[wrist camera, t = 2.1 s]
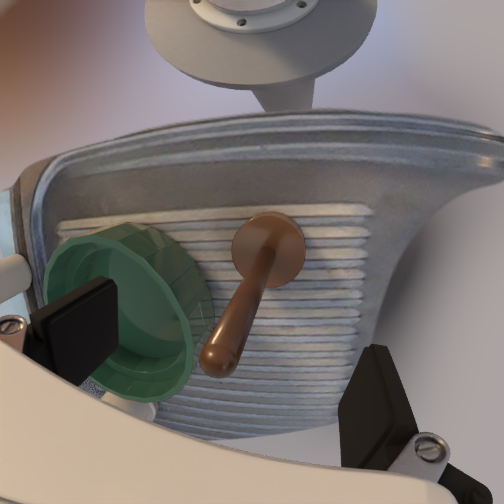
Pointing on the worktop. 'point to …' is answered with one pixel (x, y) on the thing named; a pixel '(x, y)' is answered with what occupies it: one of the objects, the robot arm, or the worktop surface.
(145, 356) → the bowl
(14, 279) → the beverage can
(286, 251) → the brown rod with base
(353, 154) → the worktop surface
